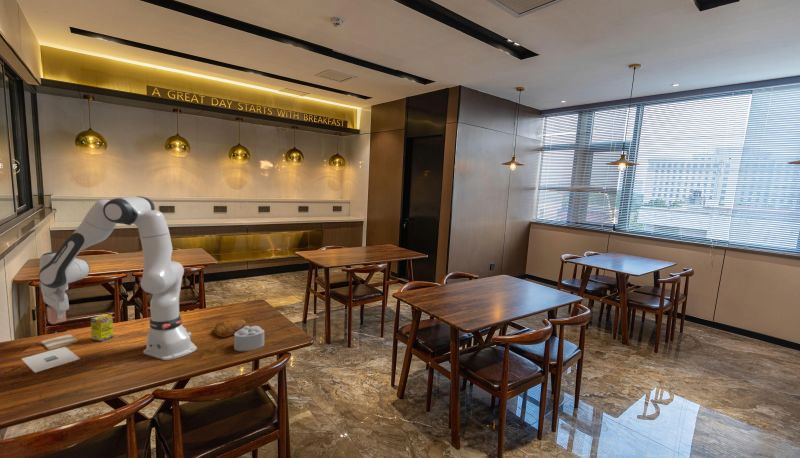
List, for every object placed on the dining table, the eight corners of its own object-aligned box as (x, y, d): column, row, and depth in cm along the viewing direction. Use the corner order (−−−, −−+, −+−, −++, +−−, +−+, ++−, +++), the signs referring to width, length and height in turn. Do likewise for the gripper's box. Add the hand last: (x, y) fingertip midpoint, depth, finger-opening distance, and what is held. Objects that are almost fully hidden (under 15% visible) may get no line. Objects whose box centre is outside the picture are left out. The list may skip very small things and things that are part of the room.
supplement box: (101, 342, 169) (100, 320, 168) (91, 340, 170) (90, 318, 169) (114, 337, 175) (112, 315, 173) (104, 335, 176) (102, 314, 174)
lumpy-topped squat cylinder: (266, 345, 174) (266, 328, 173) (238, 354, 165) (238, 336, 164) (257, 338, 182) (257, 322, 180) (230, 345, 173) (230, 328, 171)
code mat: (80, 359, 154) (80, 358, 154) (34, 373, 142) (34, 372, 142) (65, 346, 163) (65, 346, 163) (21, 359, 151) (21, 358, 151)
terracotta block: (66, 320, 166) (65, 306, 165) (51, 324, 162) (50, 309, 161) (62, 318, 169) (61, 303, 168) (47, 321, 164) (46, 306, 163)
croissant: (250, 334, 191) (252, 319, 190) (222, 340, 177) (224, 324, 177) (234, 326, 198) (236, 312, 198) (206, 331, 185) (208, 316, 185)
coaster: (77, 341, 168) (77, 339, 168) (48, 349, 160) (48, 347, 160) (69, 335, 174) (69, 333, 173) (41, 343, 165) (41, 341, 165)
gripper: (72, 289, 160) (74, 319, 162) (56, 280, 171) (58, 308, 173) (53, 293, 155) (55, 323, 157) (38, 283, 166) (40, 312, 167)
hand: (57, 315), depth 165 cm, fingers closed on terracotta block, 5 cm apart
